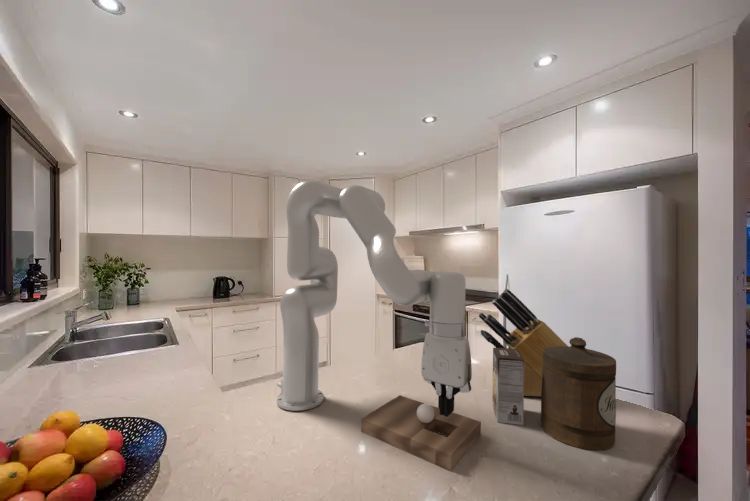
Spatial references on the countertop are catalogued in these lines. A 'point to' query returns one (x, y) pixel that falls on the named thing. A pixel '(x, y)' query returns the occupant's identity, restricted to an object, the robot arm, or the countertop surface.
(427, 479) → the countertop surface
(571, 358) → the wooden container
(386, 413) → the board
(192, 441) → the countertop surface
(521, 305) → the knife block
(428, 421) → the ball
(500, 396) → the coffee box
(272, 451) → the countertop surface
